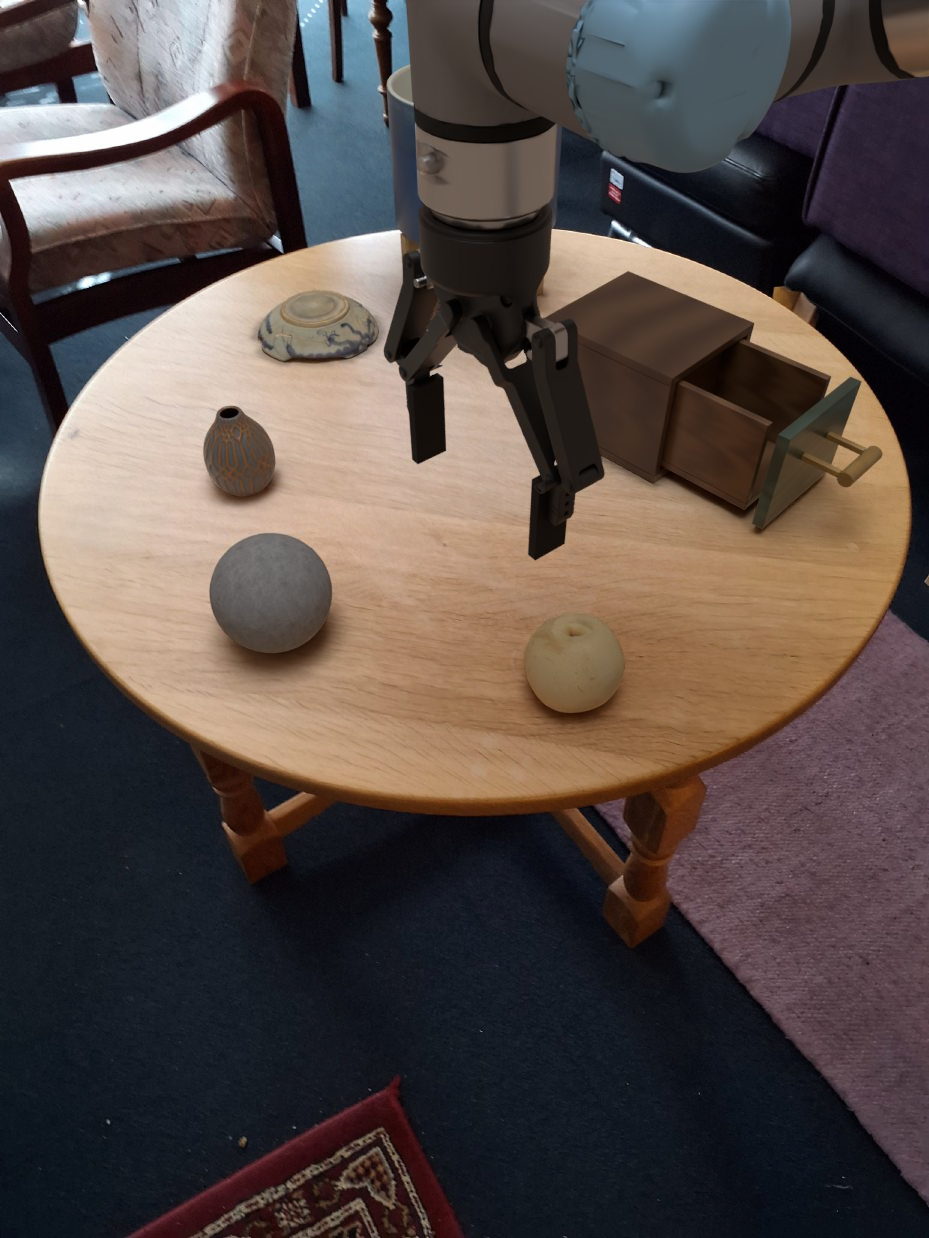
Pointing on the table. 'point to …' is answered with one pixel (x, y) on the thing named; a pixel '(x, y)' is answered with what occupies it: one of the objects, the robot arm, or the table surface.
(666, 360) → the cabinet
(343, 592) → the table surface
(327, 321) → the decorative bowl
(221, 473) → the vase
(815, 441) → the drawer
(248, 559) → the decorative ball
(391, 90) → the planter
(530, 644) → the apple
